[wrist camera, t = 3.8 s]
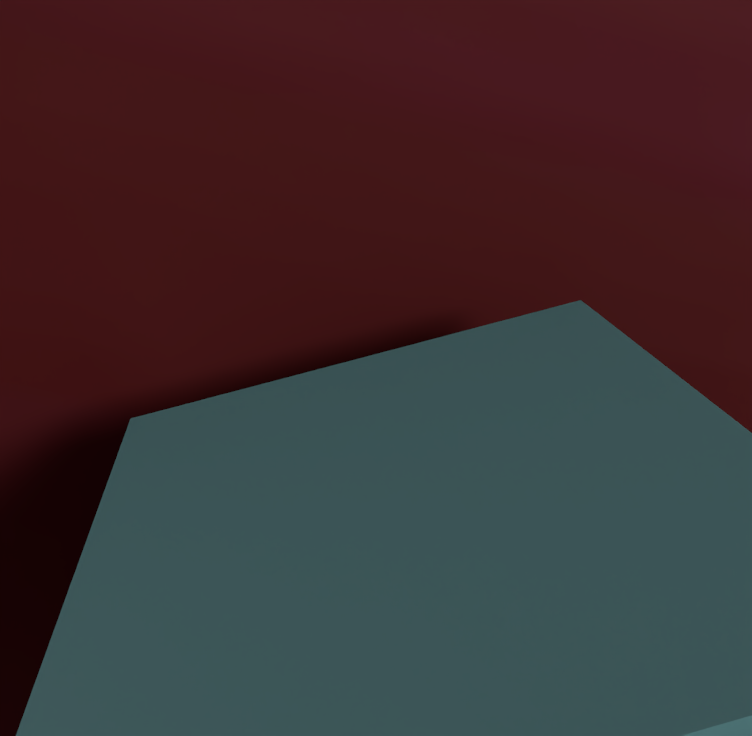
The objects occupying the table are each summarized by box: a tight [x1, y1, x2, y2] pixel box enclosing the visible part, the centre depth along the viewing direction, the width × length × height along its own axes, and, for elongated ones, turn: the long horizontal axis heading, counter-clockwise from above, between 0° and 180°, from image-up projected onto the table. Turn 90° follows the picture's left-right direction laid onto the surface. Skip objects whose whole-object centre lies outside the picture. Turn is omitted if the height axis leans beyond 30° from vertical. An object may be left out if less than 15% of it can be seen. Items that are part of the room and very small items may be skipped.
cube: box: [16, 300, 752, 736], centre depth 7 cm, size 5×5×5 cm
